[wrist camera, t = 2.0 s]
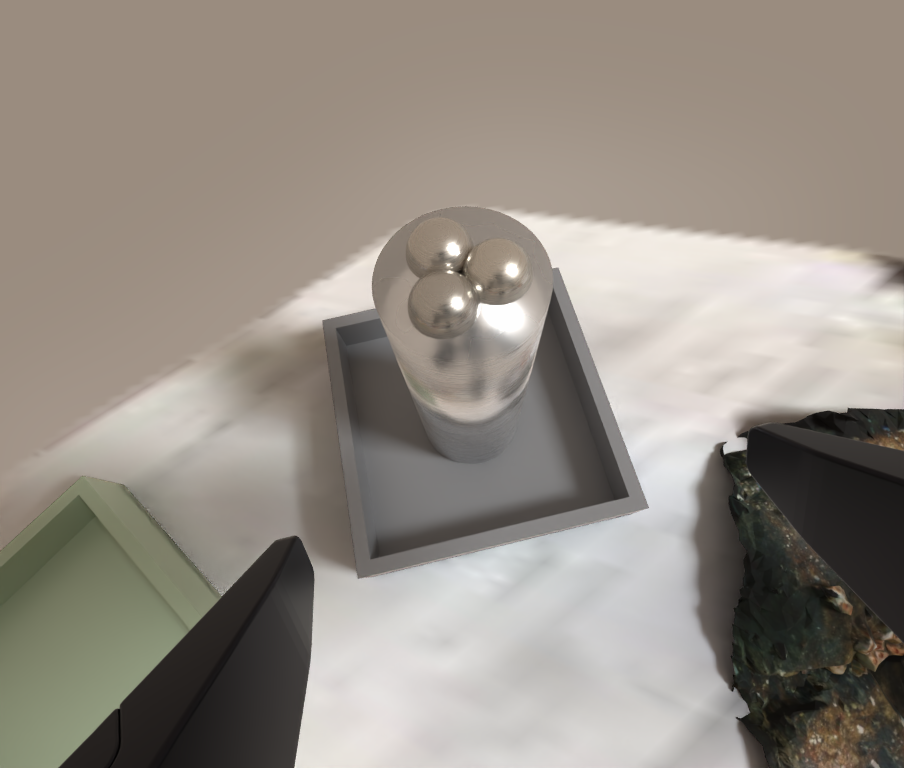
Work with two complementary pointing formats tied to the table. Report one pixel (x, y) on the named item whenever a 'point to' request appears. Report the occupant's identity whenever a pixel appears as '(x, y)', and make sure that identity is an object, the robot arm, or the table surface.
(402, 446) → the tray
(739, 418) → the table surface
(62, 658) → the tray
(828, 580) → the decorative rock
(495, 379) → the pebble canister
